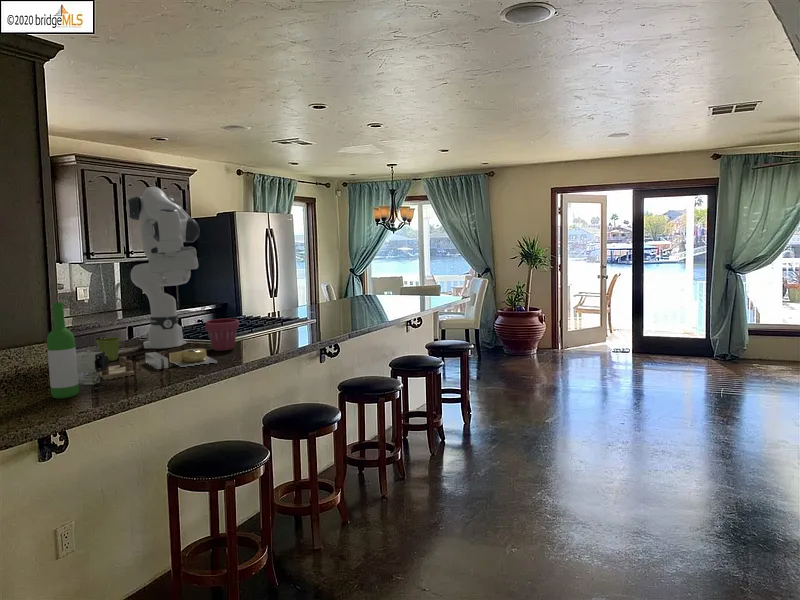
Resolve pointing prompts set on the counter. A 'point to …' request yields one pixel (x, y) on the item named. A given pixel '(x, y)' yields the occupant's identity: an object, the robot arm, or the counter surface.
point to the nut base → (184, 364)
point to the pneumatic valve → (91, 365)
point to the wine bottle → (62, 357)
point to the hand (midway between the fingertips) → (175, 282)
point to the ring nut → (188, 355)
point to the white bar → (156, 360)
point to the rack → (118, 370)
